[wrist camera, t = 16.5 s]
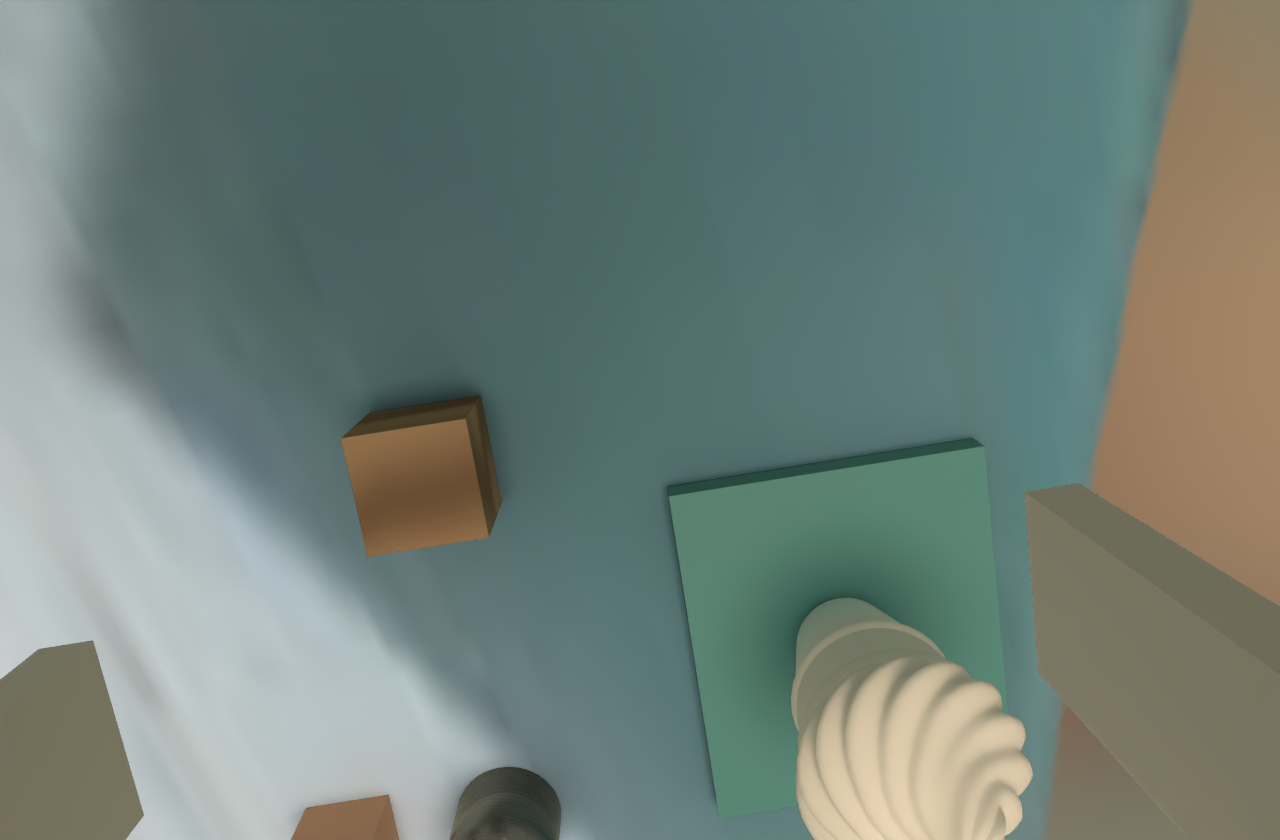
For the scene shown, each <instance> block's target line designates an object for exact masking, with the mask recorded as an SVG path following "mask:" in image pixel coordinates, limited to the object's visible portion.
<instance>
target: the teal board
mask: <svg viewBox="0 0 1280 840" xmlns="http://www.w3.org/2000/svg"><path fill="white" fill-rule="evenodd" d="M667 490H668V497H669V503H670V509H671V516H672V522H673V528H674V535H675V541H676V547H677V554H678V560H679V566H680V573H681V579H682V586H683V592H684V598H685V605H686V611H687V617H688V624H689V630H690V636H691V643H692V649H693V655H694V662H695V668H696V675H697V681H698V687H699V694H700V700H701V706H702V713H703V719H704V725H705V732H706V738H707V744H708V751H709V757H710V764H711V770H712V776H713V783H714V789H715V795H716V802H717V807H718V813H719V819H720V818H727V817H733V816H739V815H746V814H752V813H759V812H765V811H771V810H778V809H784V808H790V807H797V806H798V802H797V798H796V771H797V765H796V763H797V756H798V734H799V732H798V730H797V728H796V725H795V722H794V718H793V715H792V708H791V693H792V686H793V681H794V679H795V676H796V644H797V636H798V632H799V629H800V626H801V624H802V623H803V621H804V620H805V618H806V617H807V616H808V615H809V613H810V612H811V611H812V610H814V609H815V608H816V607H818V606H819V605H821V604H823V603H825V602H827V601H830V600H833V599H837V598H856V599H859V600H863V601H865V602H867V603H869V604H871V605H873V606H874V607H876V608H877V609H879V610H881V611H882V612H884V613H885V614H887V615H888V616H890V617H891V618H893V619H894V620H896V621H897V622H899V623H900V624H904V625H907V626H910V627H912V628H914V629H916V630H918V631H919V632H921V633H923V634H924V635H925V636H927V637H928V638H929V639H930V640H932V641H933V642H934V643H935V644H936V646H937V647H938V648H939V649H940V650H941V652H942V653H943V654H944V656H945V658H946V660H948V661H952V662H954V663H957V664H959V665H961V666H962V667H963V668H964V669H965V670H966V671H967V672H968V674H969V675H970V677H971V679H972V680H983V681H986V682H989V683H991V684H992V685H994V686H995V687H996V688H997V689H998V690H999V693H1000V695H1001V700H1002V712H1003V713H1006V714H1008V705H1007V694H1006V682H1005V671H1004V659H1003V648H1002V637H1001V625H1000V614H999V603H998V591H997V580H996V568H995V557H994V546H993V534H992V523H991V511H990V500H989V489H988V477H987V466H986V455H985V446H984V445H982V444H981V443H979V442H978V441H976V440H975V439H973V438H972V439H966V440H959V441H953V442H947V443H940V444H934V445H928V446H922V447H915V448H909V449H903V450H897V451H890V452H884V453H878V454H871V455H865V456H859V457H853V458H846V459H840V460H834V461H827V462H821V463H815V464H809V465H802V466H796V467H790V468H784V469H777V470H771V471H765V472H758V473H752V474H746V475H740V476H733V477H727V478H721V479H715V480H708V481H702V482H696V483H689V484H683V485H677V486H671V487H667Z"/></svg>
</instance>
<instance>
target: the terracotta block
mask: <svg viewBox="0 0 1280 840" xmlns="http://www.w3.org/2000/svg"><path fill="white" fill-rule="evenodd" d="M291 840H399V836H398V832H397V828H396V824H395V819H394V815H393V811H392V807H391V802H390V798H389V795H384V796H378V797H372V798H365V799H359V800H353V801H347V802H340V803H334V804H328V805H322V806H315V807H309V808H306V810H305V812H304V814H303V816H302V818H301V820H300V822H299V824H298V826H297V829H296V831H295V833H294V835H293V837H292V839H291Z"/></svg>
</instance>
